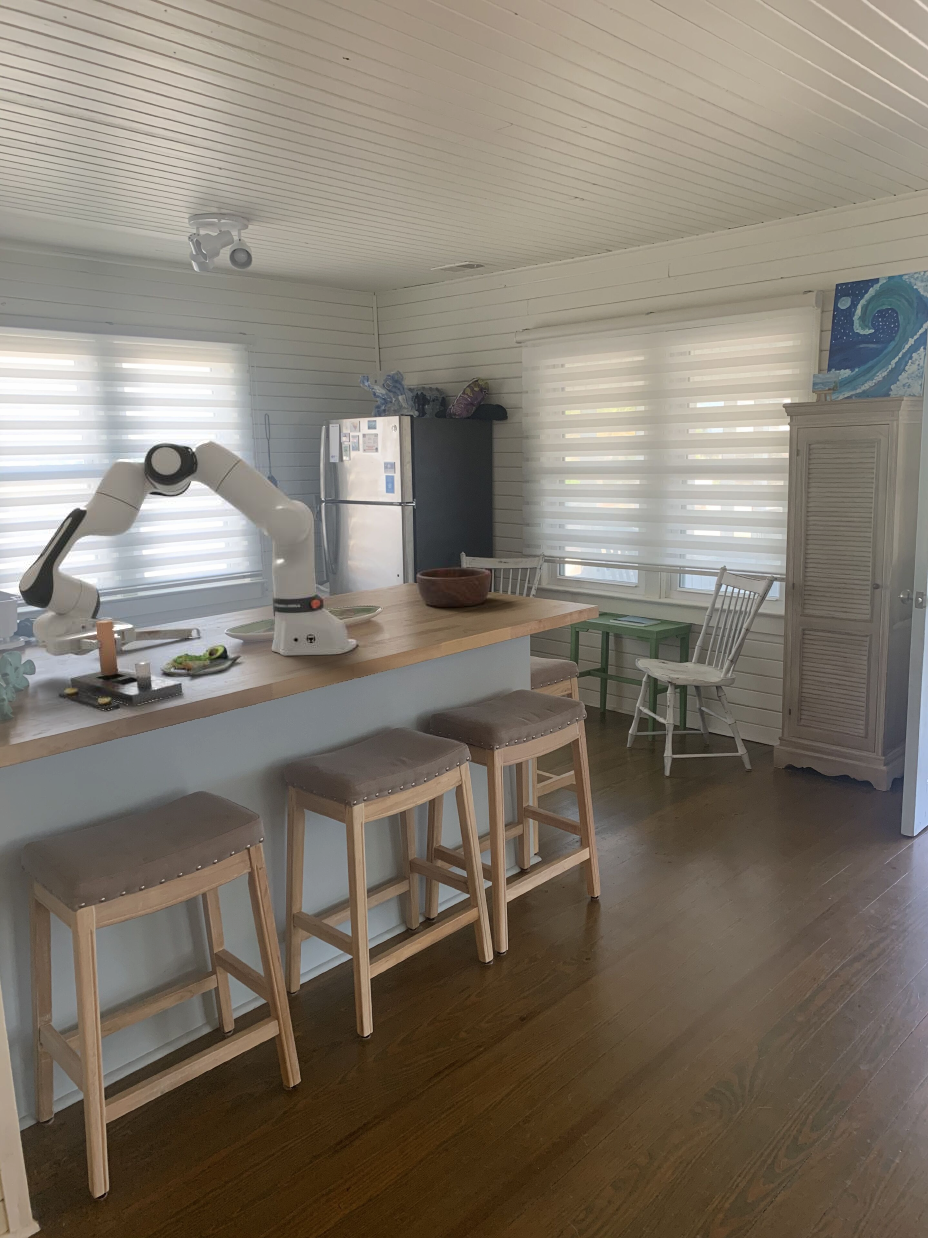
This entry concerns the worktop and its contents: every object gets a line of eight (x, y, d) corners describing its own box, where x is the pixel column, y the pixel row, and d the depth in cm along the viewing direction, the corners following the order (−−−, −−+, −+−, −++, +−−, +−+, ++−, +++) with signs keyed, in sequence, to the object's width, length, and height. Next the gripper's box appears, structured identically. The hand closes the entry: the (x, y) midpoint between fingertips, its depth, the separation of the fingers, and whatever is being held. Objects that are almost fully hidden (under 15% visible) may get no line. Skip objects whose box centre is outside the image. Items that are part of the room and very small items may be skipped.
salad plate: (224, 679, 212) (222, 660, 211) (149, 681, 213) (147, 662, 212) (245, 659, 231) (244, 642, 230) (176, 661, 232) (174, 644, 231)
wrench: (200, 647, 260) (95, 653, 240) (197, 646, 261) (93, 652, 241) (200, 619, 259) (96, 623, 239) (197, 618, 261) (93, 623, 240)
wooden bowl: (411, 599, 311) (410, 570, 309) (481, 594, 317) (480, 565, 315) (425, 612, 288) (424, 580, 286) (500, 606, 293) (500, 575, 291)
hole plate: (50, 693, 203) (46, 661, 201) (119, 677, 216) (116, 646, 214) (111, 712, 186) (107, 677, 185) (182, 693, 199) (179, 660, 198)
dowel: (121, 671, 207) (116, 620, 205) (112, 675, 204) (106, 623, 202) (107, 671, 208) (101, 620, 206) (97, 675, 205) (92, 623, 202)
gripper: (32, 630, 204) (62, 637, 196) (115, 616, 220) (147, 622, 211) (35, 657, 206) (65, 666, 197) (118, 641, 221) (149, 648, 212)
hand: (108, 643), depth 204 cm, fingers closed on dowel, 4 cm apart
